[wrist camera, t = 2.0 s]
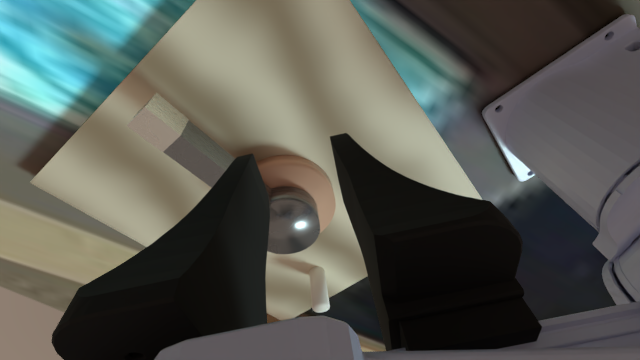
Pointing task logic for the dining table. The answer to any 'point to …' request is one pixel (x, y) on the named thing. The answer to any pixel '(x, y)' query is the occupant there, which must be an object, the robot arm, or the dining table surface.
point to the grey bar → (212, 161)
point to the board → (255, 126)
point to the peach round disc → (301, 181)
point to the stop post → (319, 290)
